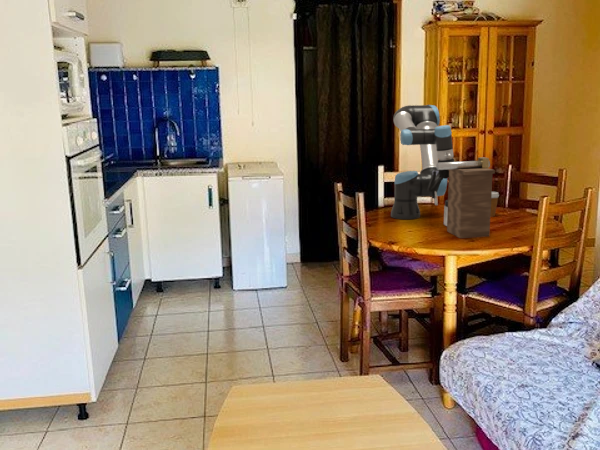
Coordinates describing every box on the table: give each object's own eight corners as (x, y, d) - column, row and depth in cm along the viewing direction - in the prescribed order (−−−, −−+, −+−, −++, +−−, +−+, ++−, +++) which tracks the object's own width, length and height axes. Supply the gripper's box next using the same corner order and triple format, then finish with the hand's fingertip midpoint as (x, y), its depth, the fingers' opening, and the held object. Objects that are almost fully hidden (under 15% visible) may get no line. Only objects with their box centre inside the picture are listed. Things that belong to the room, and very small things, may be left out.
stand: (445, 230, 280) (447, 166, 273) (472, 228, 282) (475, 165, 276) (462, 239, 263) (464, 171, 256) (491, 237, 265) (495, 170, 258)
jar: (452, 227, 284) (453, 203, 282) (440, 224, 291) (441, 200, 288) (465, 225, 289) (466, 200, 286) (453, 222, 296) (453, 198, 293)
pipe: (435, 169, 265) (436, 159, 264) (485, 166, 269) (486, 157, 268) (439, 170, 261) (440, 160, 260) (490, 168, 265) (491, 158, 264)
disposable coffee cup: (502, 216, 307) (503, 193, 305) (487, 218, 304) (488, 194, 301) (489, 212, 316) (491, 190, 313) (475, 214, 313) (476, 192, 310)
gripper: (422, 163, 278) (426, 208, 282) (474, 155, 279) (478, 199, 284) (417, 162, 285) (422, 205, 290) (468, 153, 286) (472, 196, 291)
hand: (450, 202), depth 287 cm, fingers open, 13 cm apart
